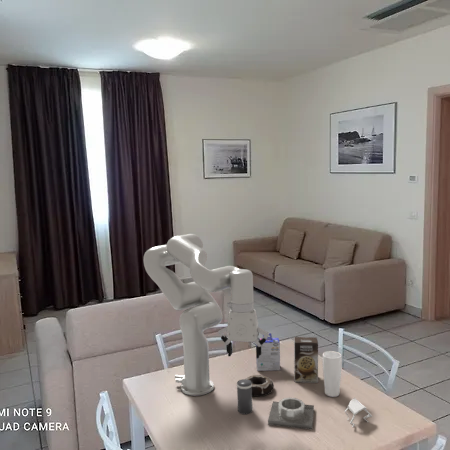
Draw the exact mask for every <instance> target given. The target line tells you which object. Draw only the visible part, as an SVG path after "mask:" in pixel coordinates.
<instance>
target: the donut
mask: <svg viewBox="0 0 450 450" xmlns="http://www.w3.org/2000/svg"><path fill="white" fill-rule="evenodd" d="M245 379H247V380H250V381H251V382H252V397H263V396H267V395H269V394H271V393H272V391H274V387H275V385H274V381H273V380H272V379H271V378H270V377H268V376H266V375H261V374H254V375H253V374H252V375H250V376H247V377H246V378H245Z"/></svg>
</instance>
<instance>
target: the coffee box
mask: <svg viewBox="0 0 450 450" xmlns="http://www.w3.org/2000/svg"><path fill="white" fill-rule="evenodd" d="M293 354H294V355H293V356H294V358H293V365H294V367H293V372H294V373H293V376H294V378H293V380H294V383H312V384H313V383H315V384H318V383H319V342H318V337H314V336H313V337H310V336H309V337H307V336H294V337H293Z"/></svg>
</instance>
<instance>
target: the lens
mask: <svg viewBox="0 0 450 450" xmlns="http://www.w3.org/2000/svg"><path fill="white" fill-rule="evenodd" d="M236 392H237V393H236V395H237V397H236V398H237V399H236V400H237V412H238V413H239V414H240V415H248V414H252V412H253V395H252V382H251V381H250V380H247V379H246V378H243V379H239V380H238V381H237V382H236Z"/></svg>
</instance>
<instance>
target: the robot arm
mask: <svg viewBox="0 0 450 450" xmlns="http://www.w3.org/2000/svg"><path fill="white" fill-rule="evenodd" d="M203 246H204V244H203V240H202V238H201V237H200V236H199V235H197V234H195V233H188V234H181V235H175V236H172V237H170V239H168V241H167V243H166V244H162V245H157V246H153V247H150V248H149V249H147V250H146V251H145V252H144V255H143V266H144V269H145V272H146V273H147V275H148V276H149V277H150V279H151V280H152V281H153V282H154V283H155V284H156V285H157V286H158V288H159V289H160V291H161V292H162V294H163V296H164V297H165V298H166V300H167V301H168V303H169V304H170V306H171V307H172V308H173V309H174V310H176V311H183V310H184V311H183V312H182V313H181V314H180V315H179V319H178V320H179V321H178V322H179V327H180V331H181V336H182V346H183V350H182V351H183V369H184V371H183V373H184V374H182V375H181V374H174V380H175V383H178V384H179V383H181V385H180V391H181V392H182V393H183V394H185V395H187V396H195V397H196V396H198V397H199V396H204V395H208V394H209V393H211V392H212V391H213V390H214V387H215V383H214V381H213V380H211V379H210V357H209V356H210V355H209V341H208V339H207V337H206V335H205V334H204V331H206V330H208V329H211V328H213V327H216V326H218V325H219V324H220V323H221V322H222V321H223V311H222V308H221V307H220V305H219V304H218V302H217V300H216V299H215V298H214V296H213V295H212V294H211V293H217V292H220V291H224V290H227V289H230V302H227V303H226V306H227V307H228V308H230V309H229V310H228V315H227V326H225V327H223V328H221V329H219V330H218V331H217V332H218V333H217V334H218V335H219V337H220V339H221V340H222V342H224V344H225V345H226V353H227V356H228V357H231V356H232V355H233V342H239V343H240V342H242V343H243V342H244V343H254V344H255V355H256V357H255V359H256V358H259V356H260V355H261V345H262V344H263V343H264V342H265V341H266V339H267V338H268V337H270V336H269V332H268V331H266V330H265V329H263V328H261V327H260V326H259V320H258V315H257V310H256V309H255V307H254V306H255V305H254V304H255V303H254V302H255V301H254V275H253V272H252V270H250V269H247V268H238V267H237V266H235V265H234V266H233V265H226V266H221V267H217V268H214V269H209V268H207V267H206V266H205V264H206V262H207V260H208V254H207V252H206V250H205V249H204V248H203ZM177 264H182V265H184V266H185V267H187V268H188V269H189V273H190V276H191V278H192V280H193V281H190V282H187V283H186V282H183V281H182V280H181V278H180V276H179V275H178V274H177V273H175V272H174V271H173V270H171V269H170V268H168V267H167V266H173V265H177ZM226 332H227V336H226V335H225V333H226ZM259 334H261V335H262V339H261V338H260V337H259ZM263 335H264V337H263ZM260 339H261V340H260ZM256 345H257V346H256Z"/></svg>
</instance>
